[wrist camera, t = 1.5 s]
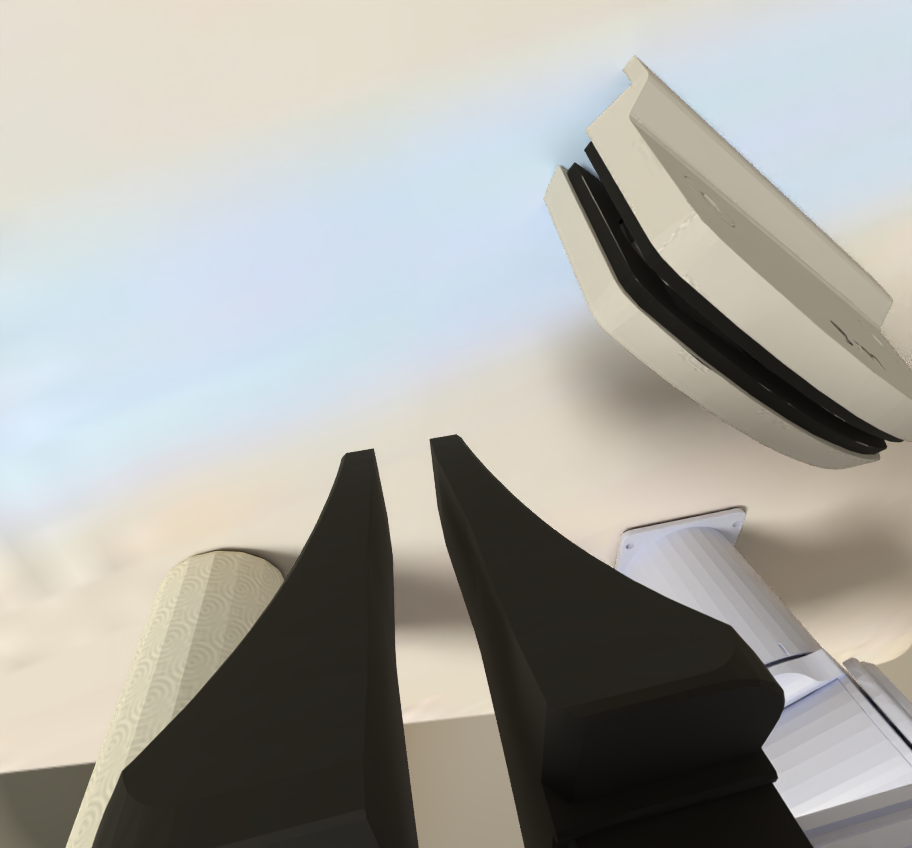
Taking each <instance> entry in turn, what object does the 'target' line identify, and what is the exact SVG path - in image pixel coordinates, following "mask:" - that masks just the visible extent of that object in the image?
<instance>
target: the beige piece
mask: <svg viewBox="0 0 912 848" xmlns="http://www.w3.org/2000/svg"><path fill="white" fill-rule="evenodd" d="M623 71H624V73H625V74H626V76H627V77H628V79H629V80H630V82H631V83H632V84H631V85H630V86H629V87H628V88H627V89H626V90H625V91H624V92H623V93H622V94H621V95H620V96H619V97H618V98H617V99H616V100H615V101H614V102H613V103H612V104H611V105H610V106H609V107H608V108H607V109H606V110H605V111H604V112H603V113H602V114H601V115H600V116H599V117H598V118H597V119H596V120H595V121H594V122H593V123H592V124H591V125H590V126H589V127H588V128H586V130H585V131H586V132H587V134H588V136H589V138H590V139H591V142H590V143H589V144H588V146H587V147H586V148H585V149H584V151H585V152H586V154H587V156H588V158H589V160H590V161H591V163H592V165H593V167H594V169H595V170H596V172H597V174H598V176H599V178H600V179H601V181H602V182H601V181H599V180H598V179H597V178H595V177H594V176H593V175H591V174H590V173H589V172H587V171H586V170H585V169H583V168H582V167H581V166H579V165H578V164H577V163H574V164H573V165H572V166H571V168H570V169H569V170H568V171H567V170H566V169H564V168H563V167H561V166H560V165H558V167H557V169H556V171H555V173H554V175H553V177H552V178H551V180H550V182H549V184H548V187H547V190H546V193H545V196H544V201H545V203H546V206H547V208H548V211H549V213H550V215H551V218H552V220H553V223H554V225H555V228H556V230H557V232H558V235H559V237H560V240H561V242H562V245H563V247H564V249H565V252H566V254H567V257H568V259H569V262H570V264H571V266H572V269H573V271H574V274H575V276H576V278H577V281H578V283H579V286H580V288H581V291H582V293H583V295H584V298H585V300H586V303H587V305H588V308H589V310H590V312H591V314H592V315H593V317H594V318H595V320H596V321H597V322H598V324H599V325H600V326H601V327H602V328H603V329H604V330H605V331H606V332H607V333H608V334H609V335H610V336H611V337H612V338H614V339H615V340H616V341H617V342H618V343H620V344H621V345H622V346H623V347H625V348H626V349H627V350H628V351H629V352H631V353H632V354H633V355H634V356H635V357H637V358H638V359H639V360H640V361H641V362H643V363H644V364H645V365H647V366H648V367H649V368H650V369H652V370H653V371H654V372H656V373H657V374H658V375H659V376H661V377H662V378H663V379H665V380H666V381H667V382H668V383H670V384H671V385H672V386H674V387H675V388H677V389H678V390H680V391H681V392H682V393H684V394H685V395H687V396H688V397H690V398H691V399H692V400H694V401H695V402H697V403H698V404H700V405H701V406H702V407H704V408H705V409H707V410H708V411H710V412H711V413H712V414H714V415H715V416H717V417H718V418H720V419H721V420H723V421H724V422H726V423H728V424H729V425H731V426H733V427H734V428H736V429H738V430H739V431H741V432H743V433H744V434H746V435H748V436H750V437H751V438H753V439H755V440H756V441H758V442H760V443H761V444H763V445H765V446H767V447H769V448H771V449H773V450H775V451H777V452H779V453H781V454H783V455H786V456H788V457H791V458H793V459H796V460H798V461H801V462H804V463H807V464H809V465H813V466H817V467H821V468H826V469H845V468H850V467H854V466H858V465H862V464H866V463H870V462H874V461H878V460H880V455H879V452H880V451H882V450H884V449H886V448H887V445H886V443H885V440H887V441H891V442H902V441H904V440H905V441H910V442H912V370H911V369H910V368H909V367H908V365H907V364H906V363H905V362H904V360H903V359H902V358H901V357H900V356H899V354H898V353H897V352H896V351H895V349H894V348H893V347H892V346H891V345H890V343H889V342H888V341H887V340H886V339H885V337H884V336H883V335H882V333H881V332H880V330H881V326H882V324H883V322H884V320H885V318H886V316H887V314H888V312H889V310H890V308H891V306H892V302H893V300H892V298H891V297H890V295H889V294H888V293H887V292H886V291H885V290H884V289H883V288H882V287H881V286H880V285H879V284H878V283H877V282H876V281H875V280H874V279H873V277H872V276H871V275H869V274H868V273H867V272H866V271H865V270H864V269H863V268H862V267H861V266H860V265H859V264H858V263H857V262H856V261H854V260H853V259H852V258H851V257H850V256H849V255H848V254H847V253H846V252H845V251H844V250H843V249H842V248H841V247H839V246H838V245H837V244H836V243H835V242H834V241H833V240H832V239H831V238H830V237H829V236H828V235H827V234H826V233H824V232H823V231H822V230H821V229H820V228H819V227H818V226H817V225H816V224H815V223H814V222H813V221H812V220H811V219H809V218H808V217H807V216H806V215H805V214H804V213H803V212H802V211H801V210H800V209H799V208H798V207H797V206H796V205H794V204H793V203H792V202H791V201H790V200H789V199H788V198H787V197H786V196H785V195H784V194H783V193H782V192H781V191H780V190H778V189H777V188H776V187H775V186H774V185H773V184H772V183H771V182H770V181H769V180H768V179H767V178H766V177H765V176H763V175H762V174H761V173H760V172H759V171H758V170H757V169H756V168H755V167H754V166H753V165H752V164H751V163H750V162H748V161H747V160H746V159H745V158H744V157H743V156H742V155H741V154H740V153H739V152H738V151H737V150H736V149H735V148H733V147H732V146H731V145H730V144H729V143H728V142H727V141H726V140H725V139H724V138H723V137H722V136H721V135H720V134H718V133H717V132H716V131H715V130H714V129H713V128H712V127H711V126H710V125H709V124H708V123H707V122H706V121H705V120H703V119H702V118H701V117H700V116H699V115H698V114H697V113H696V112H695V111H694V110H693V109H692V108H691V107H690V106H688V105H687V104H686V103H685V102H684V101H683V100H682V99H681V98H680V97H679V96H678V95H677V94H676V93H675V92H674V91H672V90H671V89H670V88H669V87H668V86H667V85H666V84H665V83H664V82H663V81H662V80H661V79H660V78H659V77H657V76H656V75H655V74H654V73H653V72H652V71H651V70H650V69H649V68H648V67H647V66H646V65H645V64H644V63H642V62H641V61H640V60H639V59H638V58H637V57H636V56H635V55H634V56H633V57H632V58H631V59H630V61H629V62H628V63H627V64H626V66H625V67H624V68H623Z"/></svg>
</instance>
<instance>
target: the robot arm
mask: <svg viewBox="0 0 912 848" xmlns="http://www.w3.org/2000/svg"><path fill="white" fill-rule="evenodd" d="M430 447H431V455H432V463H433V472H434V480H435V489H436V497H437V505H438V511H439V515H440V520H441V525H442V529H443V534H444V539H445V543H446V547H447V550H448V553H449V556H450V559H451V562H452V565H453V568H454V571H455V574H456V577H457V580H458V583H459V586H460V589H461V592H462V595H463V598H464V601H465V604H466V607H467V610H468V613H469V616H470V619H471V622H472V625H473V628H474V631H475V634H476V638H477V641H478V644H479V648H480V651H481V656H482V660H483V664H484V668H485V673H486V677H487V681H488V685H489V690H490V694H491V698H492V703H493V707H494V711H495V716H496V720H497V724H498V729H499V733H500V738H501V742H502V746H503V750H504V755H505V760H506V764H507V768H508V773H509V777H510V782H511V787H512V791H513V795H514V800H515V804H516V809H517V814H518V819H519V823H520V828H521V833H522V837H523V842H524V846H525V848H912V703H911V702H910V701H909V700H908V699H907V698H906V697H905V696H904V695H903V694H902V692H901V691H900V690H899V689H898V688H897V687H896V686H895V685H894V684H893V683H892V682H891V681H890V680H889V679H888V678H887V677H886V676H885V675H884V674H883V672H882V671H880V669H879V668H878V667H877V666H876V665H874V664H872V663H868V662H864V661H862V662H859V661H858V660H857V659H856V658H850V659H848V660H846V661H844V662H843V665H844V666H845V667H846V669H847V670H848V671H849V672H850V673H851V675H852V676H853V677H854V678H855V679H856V680H857V682H858V683H859V684H860V686H861V687H860V686H859V684H858V683H857V682H856V681H855V680H854V679H853V678H852V677H851V675H850V674H849V673H848V672H847V671H846V670H845V669H844V668H843V667H842V666H841V665H840V664H839V663H838V662H837V661H836V660H835V659H834V658H833V657H832V656H831V655H830V654H829V653H828V652H826V651H825V650H824V649H823V648H822V647H821V646H820V645H819V643H818V642H817V641H816V640H815V639H814V638H813V637H812V635H811V634H810V633H809V632H808V631H807V630H806V629H805V627H804V626H803V625H802V624H801V623H800V622H799V621H798V619H797V618H796V617H795V616H794V615H793V614H792V613H791V611H790V610H789V609H788V608H787V607H786V606H785V605H784V603H783V602H782V601H781V600H780V599H779V598H778V597H777V595H776V594H775V593H774V592H773V591H772V590H771V589H770V587H769V586H768V585H767V584H766V583H765V582H764V581H763V579H762V578H761V577H760V576H759V575H758V574H757V573H756V571H755V570H754V569H753V568H752V567H751V566H750V565H749V563H748V562H747V561H746V560H745V559H744V558H743V557H742V555H741V554H740V553H739V552H738V551H737V550H736V549H735V547H734V546H735V544H736V541H737V538H738V536H739V533H740V530H741V528H742V525H743V522H744V520H745V517H746V513H745V512H744V511H743V510H742V509H741V508H736V509H731V510H726V511H721V512H716V513H711V514H706V515H701V516H696V517H692V518H687V519H682V520H677V521H672V522H667V523H662V524H657V525H652V526H647V527H643V528H638V529H633V530H628V531H626V532H624V533H623V534H622V535H621V538H620V543H619V548H618V554H617V560H616V565H615V569H614V568H612V567H610V566H609V565H607V564H605V563H604V562H602V561H600V560H598V559H597V558H595V557H593V556H592V555H590V554H589V553H587V552H586V551H584V550H583V549H581V548H580V547H578V546H577V545H575V544H574V543H572V542H571V541H569V540H568V539H567V538H565V537H564V536H563V535H561V534H560V533H559V532H557V531H556V530H554V529H553V528H552V527H551V526H549V525H548V524H547V523H545V522H544V521H543V520H542V519H540V518H539V517H538V516H537V515H536V514H534V513H533V512H532V511H531V510H530V509H529V508H527V507H526V506H525V505H524V504H523V503H522V502H521V501H519V500H518V499H517V498H516V497H515V496H514V495H513V494H512V493H511V492H510V491H509V490H508V489H507V488H506V487H505V486H504V485H503V484H502V483H501V482H500V481H499V480H498V479H497V478H496V477H495V476H494V475H493V474H492V473H491V472H490V471H489V470H488V469H487V468H486V467H485V466H484V465H483V464H482V462H481V461H480V460H479V459H478V458H477V457H476V456H475V455H474V453H473V452H472V451H471V450H470V449H469V447H468V446H467V445H466V443H465V442H464V441H463V439H462V438H461V437H459V436H458V435H457V434H456V435H450V436H444V437H438V438H433V439H430ZM92 848H418V840H417V832H416V824H415V817H414V808H413V801H412V793H411V785H410V777H409V769H408V761H407V753H406V745H405V736H404V728H403V720H402V711H401V703H400V694H399V686H398V677H397V668H396V653H395V620H394V582H393V554H392V547H391V539H390V532H389V524H388V517H387V512H386V507H385V502H384V497H383V492H382V487H381V482H380V477H379V472H378V467H377V462H376V457H375V452H374V449H368V450H362V451H356V452H350V453H346V454H345V455H344V456H343V457H342V459H341V463H340V467H339V470H338V473H337V476H336V479H335V481H334V484H333V487H332V489H331V492H330V494H329V497H328V499H327V501H326V503H325V506H324V508H323V510H322V512H321V514H320V517H319V519H318V521H317V523H316V525H315V527H314V529H313V531H312V533H311V535H310V537H309V539H308V540H307V542H306V544H305V546H304V548H303V550H302V552H301V554H300V555H299V557H298V559H297V561H296V562H295V564H294V566H293V567H292V569H291V571H290V572H289V574H288V576H287V577H286V579H285V580H284V582H283V583H282V585H281V587H280V588H279V590H278V591H277V593H276V594H275V596H274V597H273V599H272V600H271V602H270V603H269V604H268V606H267V607H266V609H265V610H264V611H263V613H262V614H261V615H260V617H259V618H258V620H257V621H256V622H255V624H254V625H253V626H252V628H251V629H250V631H249V632H248V633H247V634H246V636H245V637H244V638H243V640H242V641H241V642H240V643H239V645H238V646H237V647H236V648H235V650H234V651H233V652H232V653H231V654H230V656H229V657H228V658H227V659H226V660H225V661H224V663H223V664H222V665H221V666H220V667H219V669H218V670H217V671H216V672H215V673H214V674H213V676H212V677H211V678H210V679H209V680H208V681H207V683H206V684H205V685H204V686H203V687H202V688H201V690H200V691H199V692H198V693H197V694H196V695H195V697H194V698H193V699H192V700H191V701H190V702H189V703H188V704H187V705H186V706H185V708H184V709H183V710H182V711H181V712H180V713H179V714H178V715H177V716H176V717H175V718H174V719H173V720H172V721H171V722H170V723H169V724H168V725H167V726H166V727H165V728H164V729H163V730H162V731H161V732H160V733H159V734H158V735H157V736H156V737H155V738H154V739H153V740H152V741H151V742H150V744H149V745H148V746H147V747H146V748H145V749H144V750H143V751H142V752H141V753H140V754H139V755H138V756H137V757H136V758H135V759H134V760H133V761H132V762H131V763H130V764H129V765H128V766H127V767H125V768H124V769H123V770H122V771H121V774H120V776H119V779H118V782H117V784H116V786H115V789H114V791H113V793H112V796H111V798H110V800H109V802H108V804H107V806H106V809H105V811H104V814H103V816H102V819H101V822H100V824H99V827H98V829H97V832H96V835H95V838H94V842H93V845H92Z"/></svg>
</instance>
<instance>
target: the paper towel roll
mask: <svg viewBox="0 0 912 848" xmlns="http://www.w3.org/2000/svg"><path fill="white" fill-rule="evenodd" d="M283 582H284V578H283V576H282V574H281V572H280V570H278V569H277V568H276V567H274V566H273V565H272V564H270V563H269V562H268V561H266V560H265V559H262V558H259V557H256V556H253V555H250V554H247V553H244V552H229V551H214V552H210V553H205V554H201V555H196V556H192V557H190V558H188V559H187V560H185V561H183V562H182V563H180V564H178V565H176V566H175V567H173V568H172V569H171V571H170V572H169V574H168V575H167V576H166V578H165V579H164V581H163V582H162V584H161V585H160V588H159V591H158V593H157V596H156V599H155V602H154V604H153V607H152V610H151V613H150V615H149V618H148V621H147V624H146V627H145V629H144V632H143V635H142V638H141V640H140V643H139V646H138V649H137V651H136V654H135V657H134V660H133V663H132V665H131V668H130V671H129V674H128V676H127V679H126V682H125V685H124V687H123V690H122V693H121V696H120V699H119V701H118V704H117V707H116V710H115V712H114V715H113V718H112V721H111V723H110V726H109V729H108V732H107V735H106V737H105V740H104V743H103V746H102V748H101V751H100V754H99V757H98V759H97V762H96V765H95V768H94V771H93V773H92V776H91V779H90V782H89V785H88V787H87V790H86V793H85V795H84V798H83V801H82V804H81V807H80V809H79V812H78V815H77V818H76V820H75V823H74V826H73V829H72V831H71V834H70V837H69V840H68V843H67V846H66V848H92V845H93V842H94V838H95V835H96V832H97V829H98V827H99V824H100V822H101V819H102V816H103V814H104V811H105V809H106V806H107V804H108V802H109V800H110V798H111V796H112V793H113V791H114V789H115V786H116V784H117V782H118V779H119V776H120V774H121V771H122V770H123V769H124V768H125V767H127V766H128V765H129V764H130V763H131V762H132V761H133V760H134V759H135V758H136V757H137V756H138V755H139V754H140V753H141V752H142V751H143V750H144V749H145V748H146V747H147V746H148V745H149V744H150V742H151V741H152V740H153V739H154V738H155V737H156V736H157V735H158V734H159V733H160V732H161V731H162V730H163V729H164V728H165V727H166V726H167V725H168V724H169V723H170V722H171V721H172V720H173V719H174V718H175V717H176V716H177V715H178V714H179V713H180V712H181V711H182V710H183V709H184V708H185V706H186V705H187V704H188V703H189V702H190V701H191V700H192V699H193V698H194V697H195V695H196V694H197V693H198V692H199V691H200V690H201V688H202V687H203V686H204V685H205V684H206V683H207V681H208V680H209V679H210V678H211V677H212V676H213V674H214V673H215V672H216V671H217V670H218V669H219V667H220V666H221V665H222V664H223V663H224V661H225V660H226V659H227V658H228V657H229V656H230V654H231V653H232V652H233V651H234V650H235V648H236V647H237V646H238V645H239V643H240V642H241V641H242V640H243V638H244V637H245V636H246V634H247V633H248V632H249V631H250V629H251V628H252V626H253V625H254V624H255V622H256V621H257V620H258V618H259V617H260V615H261V614H262V613H263V611H264V610H265V609H266V607H267V606H268V604H269V603H270V602H271V600H272V599H273V597H274V596H275V594H276V593H277V591H278V590H279V588H280V587H281V585H282V583H283Z"/></svg>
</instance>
